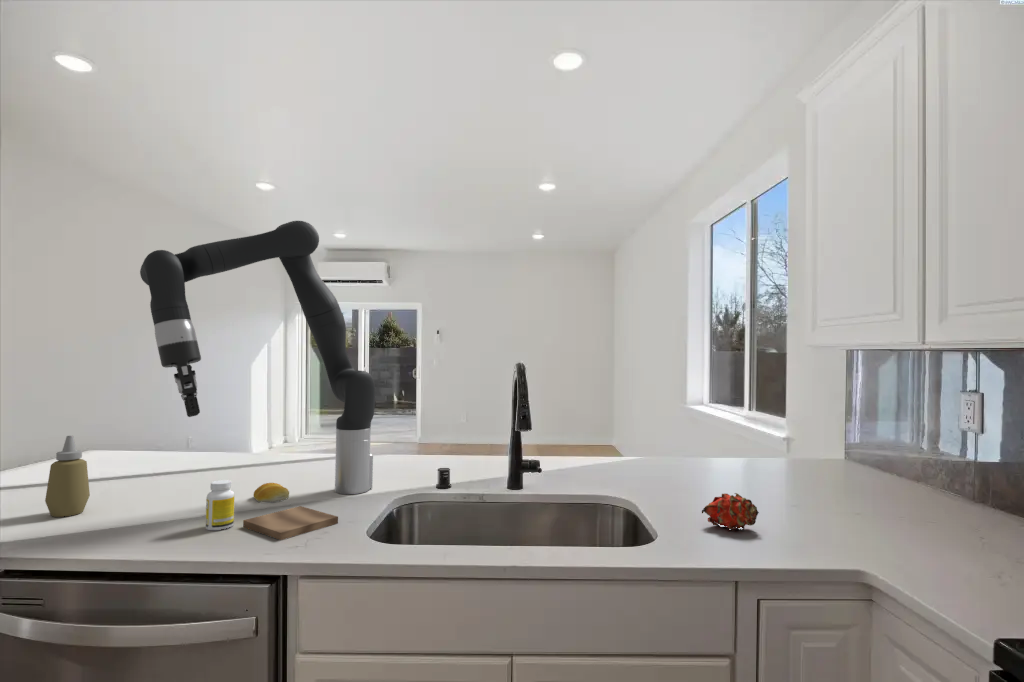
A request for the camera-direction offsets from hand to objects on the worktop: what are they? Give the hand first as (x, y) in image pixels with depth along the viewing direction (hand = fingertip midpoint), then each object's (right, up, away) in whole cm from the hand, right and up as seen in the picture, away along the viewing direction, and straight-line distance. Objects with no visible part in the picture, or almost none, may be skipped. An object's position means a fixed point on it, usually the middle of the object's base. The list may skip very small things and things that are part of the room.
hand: (193, 415), depth 119 cm
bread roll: (+6, -25, +24) cm, 35 cm away
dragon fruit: (+118, -26, +4) cm, 121 cm away
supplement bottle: (+6, -24, 0) cm, 25 cm away
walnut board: (+20, -24, +2) cm, 32 cm away
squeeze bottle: (-34, -24, +8) cm, 42 cm away
